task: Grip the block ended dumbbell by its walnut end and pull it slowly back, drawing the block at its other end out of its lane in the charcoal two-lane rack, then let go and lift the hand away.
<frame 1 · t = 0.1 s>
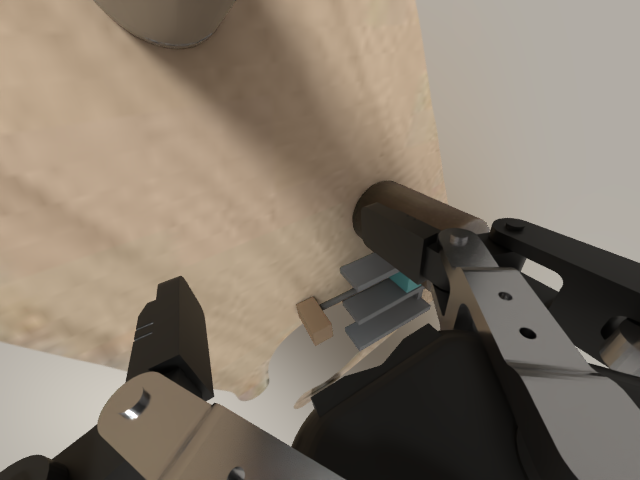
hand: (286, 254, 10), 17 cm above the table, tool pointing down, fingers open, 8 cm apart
lane rack: (382, 283, 46), on the table
pillar candle: (377, 211, 37), on the table
block ended dumbbell: (371, 290, 40), point 3 cm above the table, slide at 0.0 cm
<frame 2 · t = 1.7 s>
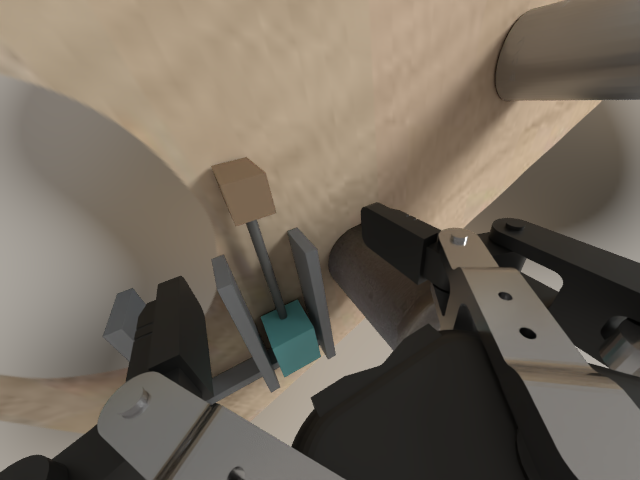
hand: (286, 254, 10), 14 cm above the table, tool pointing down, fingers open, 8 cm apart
lane rack: (245, 315, 29), on the table
pillar candle: (356, 254, 33), on the table
block ended dumbbell: (274, 286, 24), point 3 cm above the table, slide at 0.0 cm
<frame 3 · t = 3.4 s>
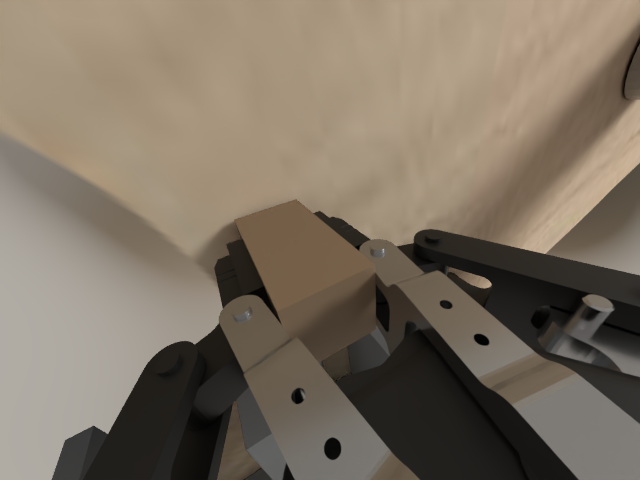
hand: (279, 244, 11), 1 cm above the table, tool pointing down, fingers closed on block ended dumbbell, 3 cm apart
lane rack: (273, 414, 20), on the table
block ended dumbbell: (328, 394, 15), point 3 cm above the table, slide at 0.0 cm, touching gripper
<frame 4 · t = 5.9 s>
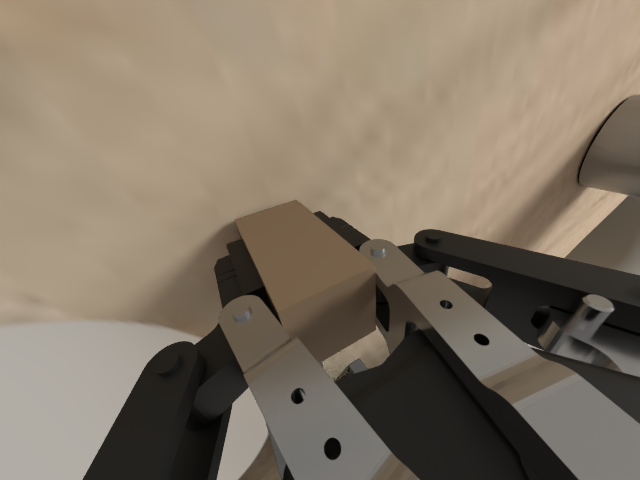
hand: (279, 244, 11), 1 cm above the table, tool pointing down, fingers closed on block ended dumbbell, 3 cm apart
lane rack: (292, 450, 24), on the table
block ended dumbbell: (327, 395, 15), point 3 cm above the table, slide at 8.7 cm, touching gripper
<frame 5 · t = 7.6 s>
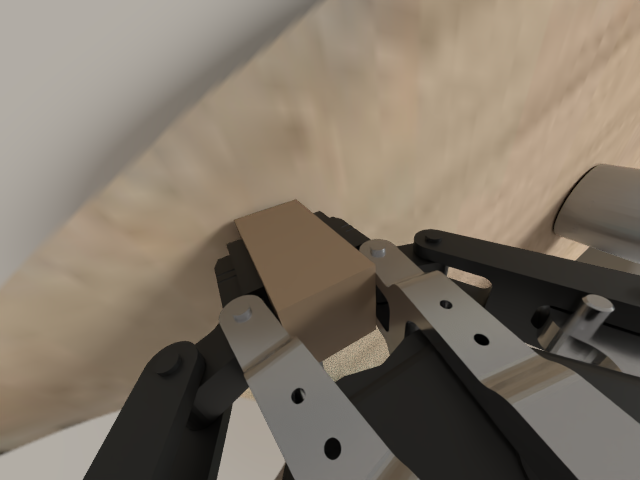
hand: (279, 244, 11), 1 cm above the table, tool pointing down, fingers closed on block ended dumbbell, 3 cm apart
block ended dumbbell: (328, 394, 15), point 3 cm above the table, slide at 15.8 cm, touching gripper
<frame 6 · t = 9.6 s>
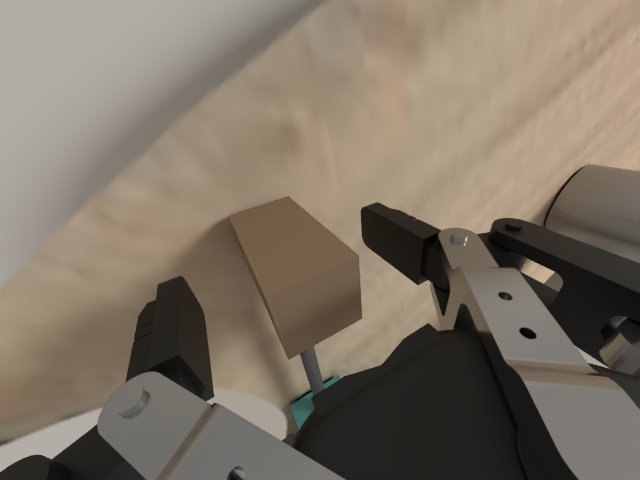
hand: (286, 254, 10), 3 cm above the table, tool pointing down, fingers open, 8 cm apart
block ended dumbbell: (321, 386, 16), point 3 cm above the table, slide at 15.9 cm
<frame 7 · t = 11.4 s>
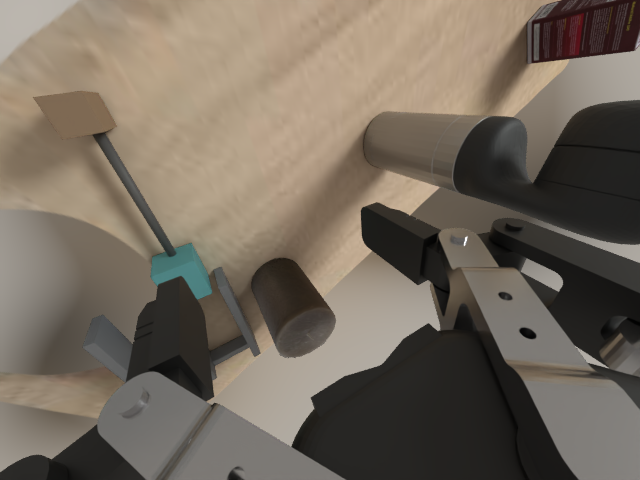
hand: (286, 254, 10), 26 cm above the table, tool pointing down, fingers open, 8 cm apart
lane rack: (188, 327, 40), on the table
pillar candle: (276, 279, 45), on the table
block ended dumbbell: (146, 218, 27), point 3 cm above the table, slide at 15.9 cm
supplement box: (533, 35, 50), on the table
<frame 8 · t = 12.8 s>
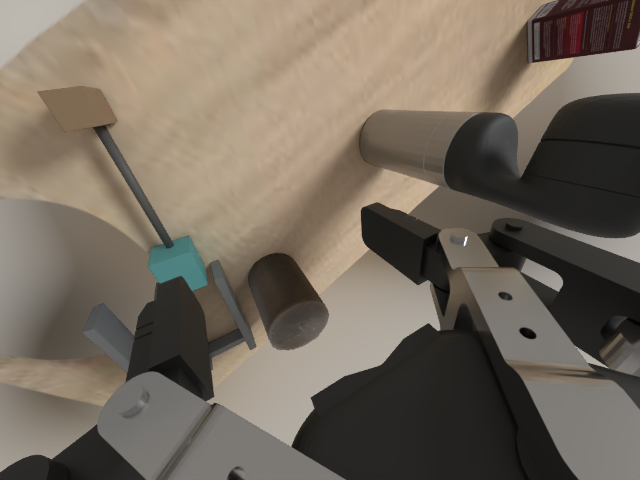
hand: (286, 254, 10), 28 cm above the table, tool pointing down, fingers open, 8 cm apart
lane rack: (186, 319, 41), on the table
pillar candle: (272, 274, 46), on the table
block ended dumbbell: (144, 209, 29), point 3 cm above the table, slide at 15.9 cm
supplement box: (533, 35, 49), on the table
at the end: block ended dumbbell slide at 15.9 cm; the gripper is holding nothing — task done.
